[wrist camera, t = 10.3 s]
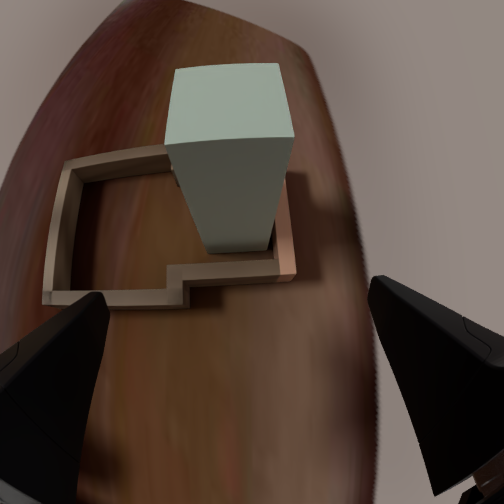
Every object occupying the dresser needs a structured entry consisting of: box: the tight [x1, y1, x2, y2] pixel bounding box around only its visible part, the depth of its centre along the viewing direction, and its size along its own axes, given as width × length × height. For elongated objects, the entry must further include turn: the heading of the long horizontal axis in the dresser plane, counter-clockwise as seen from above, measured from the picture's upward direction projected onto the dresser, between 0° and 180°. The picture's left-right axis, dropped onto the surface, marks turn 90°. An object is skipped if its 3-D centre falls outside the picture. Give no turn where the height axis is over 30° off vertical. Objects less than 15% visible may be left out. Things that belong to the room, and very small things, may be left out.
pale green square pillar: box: [164, 63, 295, 254], centre depth 15 cm, size 4×4×12 cm
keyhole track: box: [42, 144, 296, 310], centre depth 20 cm, size 12×18×2 cm, turn 94°
